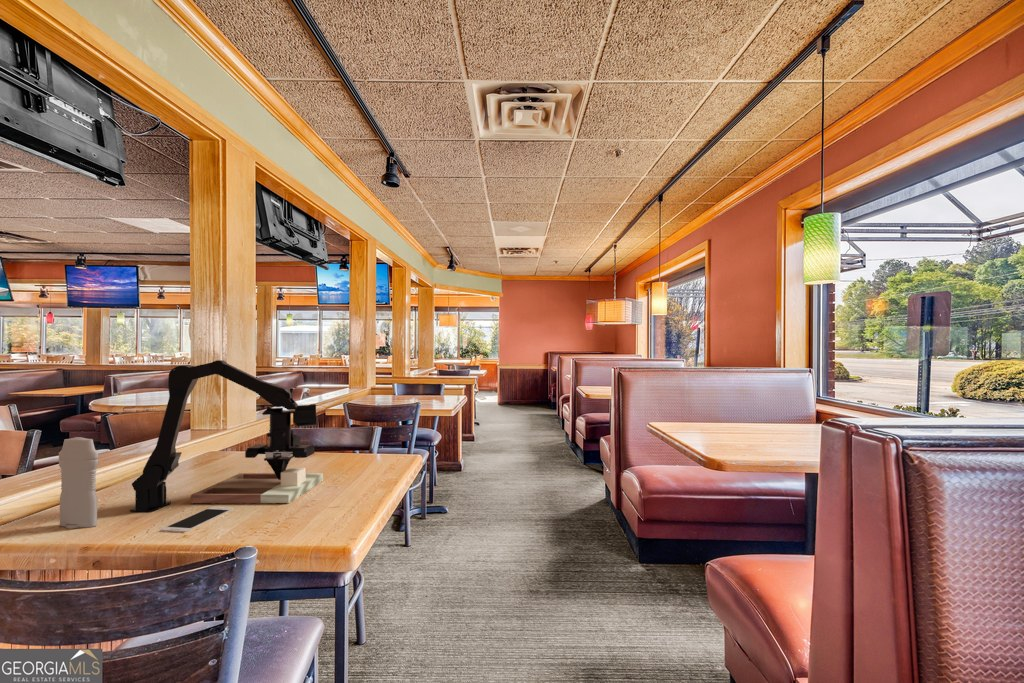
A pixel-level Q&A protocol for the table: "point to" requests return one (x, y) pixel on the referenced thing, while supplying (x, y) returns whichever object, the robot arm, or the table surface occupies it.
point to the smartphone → (197, 519)
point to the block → (293, 476)
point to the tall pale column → (78, 483)
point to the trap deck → (254, 489)
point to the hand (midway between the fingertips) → (280, 479)
